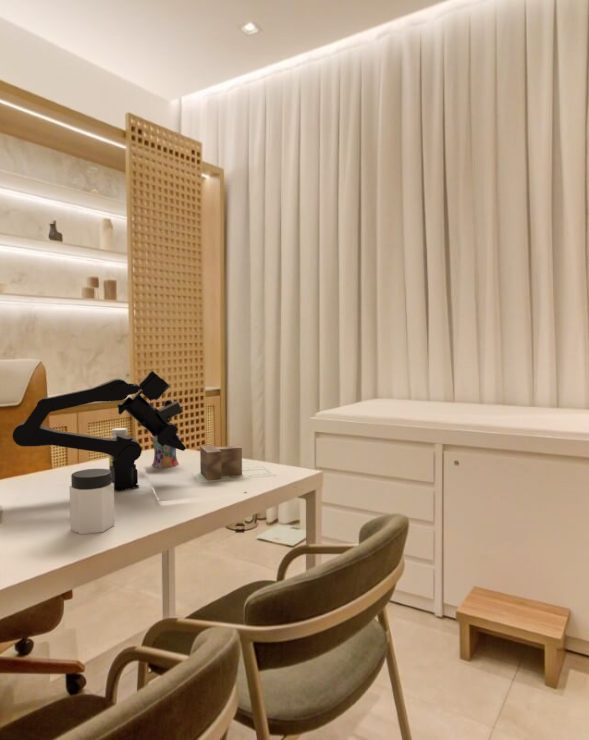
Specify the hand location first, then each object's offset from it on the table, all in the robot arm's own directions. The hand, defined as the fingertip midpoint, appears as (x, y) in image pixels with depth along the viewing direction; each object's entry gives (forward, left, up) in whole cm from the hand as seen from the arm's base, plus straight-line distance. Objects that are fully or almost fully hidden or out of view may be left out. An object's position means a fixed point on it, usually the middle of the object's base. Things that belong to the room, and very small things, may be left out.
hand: (184, 449), depth 154 cm
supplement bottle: (-6, +29, -10) cm, 31 cm away
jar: (-36, -19, -10) cm, 42 cm away
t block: (+10, -4, -8) cm, 14 cm away
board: (+14, -6, -9) cm, 18 cm away
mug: (+6, +21, -10) cm, 24 cm away
